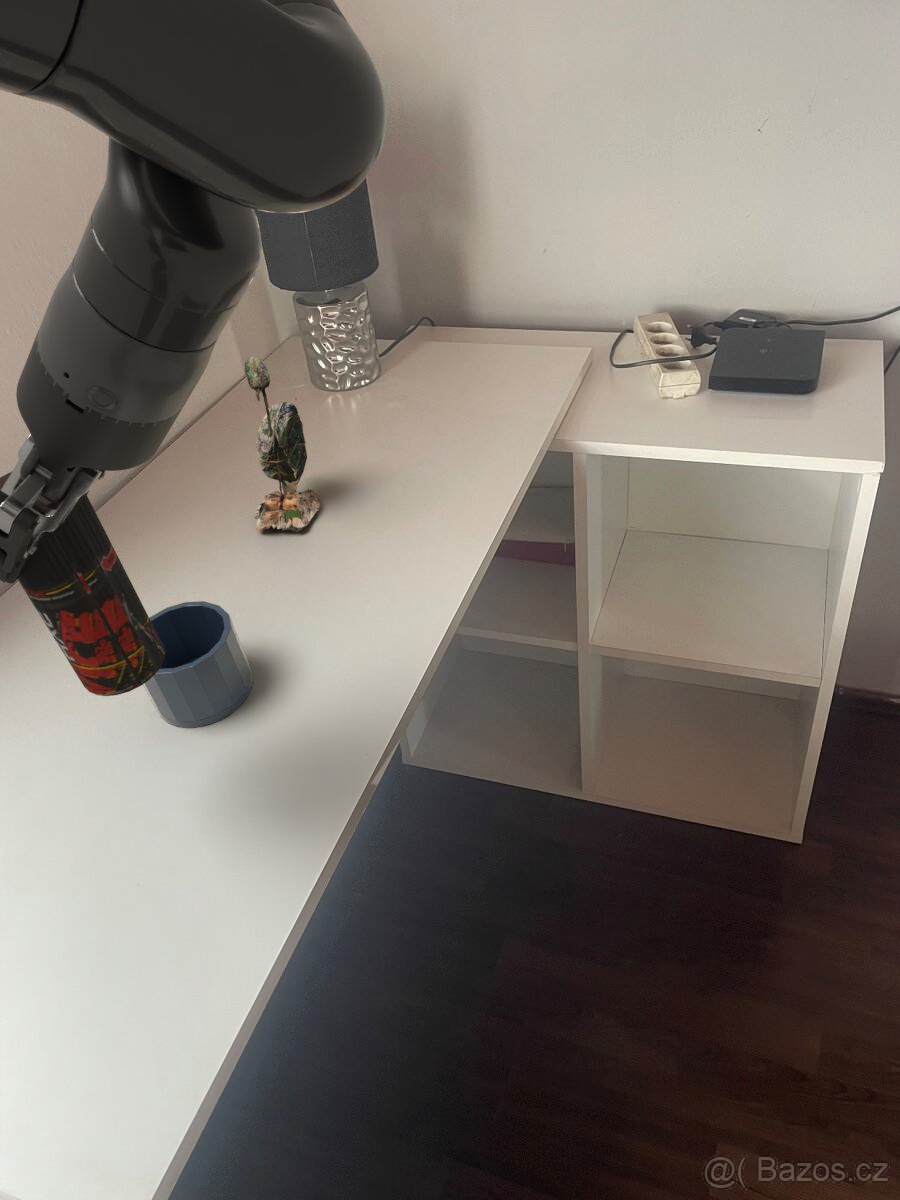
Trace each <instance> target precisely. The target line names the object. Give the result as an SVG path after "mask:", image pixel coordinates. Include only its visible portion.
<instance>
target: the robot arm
mask: <svg viewBox="0 0 900 1200" xmlns="http://www.w3.org/2000/svg"><path fill="white" fill-rule="evenodd" d="M0 91H3V92H6V93H10V94H14V95H17V96H20V97H23V98H27V99H30V100H34V101H38V102H42V103H46V104H50V105H53V106H55V107H58V108H60V109H62V110H63V111H65V112H68V113H70V114H71V115H74V116H75V117H77V118H79V119H80V120H82V121H84V122H85V123H87V124H88V125H90V126H92V127H93V128H95V129H96V130H98V131H99V132H100V133H102V134H104V135H106V136H107V137H108V145H107V164H106V174H105V180H104V184H103V186H102V189H101V192H100V194H99V196H98V197H97V200H96V202H95V204H94V206H93V209H92V212H91V214H90V217H89V219H88V222H87V224H86V226H85V228H84V229H85V230H84V231H83V234H82V237H81V239H80V242H79V244H78V247H77V249H76V252H75V254H74V257H73V258H72V260H71V262H70V264H69V265H68V267H67V268H66V270H65V272H64V273H63V274H62V276H61V278H60V279H59V281H58V282H57V284H56V286H55V289H54V290H53V293H52V295H51V297H50V300H49V303H48V305H47V307H46V310H45V312H44V315H43V318H42V320H41V323H40V325H39V328H38V330H37V333H36V335H35V337H34V341H33V343H32V345H31V348H30V351H29V354H28V356H27V358H26V361H25V364H24V366H23V368H22V371H21V374H20V376H19V379H18V382H17V384H16V393H15V395H16V404H17V408H18V411H19V413H20V416H21V419H22V420H23V422H24V425H25V426H26V428H27V430H28V432H29V435H28V436H27V438H26V439H25V440H24V442H23V444H22V445H21V447H20V448H19V450H18V453H17V454H18V462H17V463H16V465H15V467H14V468H13V470H12V471H11V472H12V473H11V474H10V476H9V478H8V479H7V481H6V482H5V484H4V486H3V487H2V489H1V490H0V581H1V582H2V583H7V584H15V583H16V582H17V581H18V578H19V577H20V576H21V574H22V572H23V570H24V568H25V566H26V564H27V562H28V561H29V559H30V557H31V555H33V554H34V553H35V551H36V550H37V545H38V543H39V542H40V540H41V539H42V537H43V536H44V534H45V533H46V532H52V531H54V530H55V529H57V528H58V527H59V526H60V525H61V524H62V523H63V522H64V521H65V519H66V518H67V516H68V515H69V513H70V512H71V510H72V509H73V507H74V506H75V504H76V503H77V501H78V500H79V498H80V497H81V496H83V495H84V494H85V493H86V495H87V496H88V495H89V492H90V491H91V490H92V489H93V487H94V486H95V485H96V483H97V482H98V481H101V480H102V479H104V478H105V477H106V476H107V475H108V473H109V472H118V471H124V470H125V471H126V470H131V469H133V468H137V467H139V466H141V465H143V464H145V463H146V462H148V461H149V460H150V459H152V458H153V457H154V456H155V454H156V453H157V452H158V450H159V449H160V447H161V445H162V443H163V442H164V440H165V438H166V437H167V435H168V434H169V432H170V430H171V428H173V425H174V424H175V422H176V420H177V419H178V417H179V415H180V413H181V412H182V411H183V409H184V407H185V405H186V404H187V402H188V400H189V398H190V397H191V395H192V394H193V391H194V390H195V389H196V387H197V386H198V383H200V380H201V379H202V376H203V375H204V373H205V371H206V369H207V368H208V365H209V362H210V359H211V357H212V354H213V351H214V348H215V346H216V343H217V342H218V339H219V337H220V335H221V334H222V332H223V330H224V329H225V327H226V325H228V322H229V321H230V319H231V317H232V315H233V313H234V312H235V310H236V309H237V307H238V305H239V303H240V301H241V300H242V299H243V297H244V295H245V294H246V292H247V290H248V288H249V287H250V285H251V283H252V281H253V280H254V278H255V276H256V273H257V271H258V268H259V266H260V261H261V257H262V252H263V241H262V234H261V229H260V225H259V220H258V217H257V213H256V211H261V212H266V213H274V214H281V213H282V214H298V213H306V212H311V211H316V210H319V209H322V208H325V207H327V206H330V205H332V204H334V203H337V202H339V201H341V200H342V199H344V198H346V197H347V196H349V195H350V194H351V193H352V192H354V191H355V190H356V189H357V188H358V187H359V186H360V185H362V183H363V182H364V181H365V180H366V178H367V177H369V175H370V173H371V171H372V170H373V169H374V167H375V166H376V163H377V162H378V159H379V157H380V155H381V153H382V149H383V145H384V142H385V137H386V133H387V132H386V131H387V123H388V122H387V121H388V113H387V102H386V95H385V92H384V91H385V90H384V87H383V84H382V80H381V78H380V75H379V72H378V70H377V68H376V65H375V63H374V61H373V60H372V58H371V56H370V53H369V52H368V50H367V49H366V47H365V46H364V44H363V43H362V40H361V39H360V38H359V36H358V35H357V33H356V32H355V30H354V29H353V27H352V26H351V25H350V23H349V22H348V20H347V19H346V17H345V16H344V14H343V12H342V10H341V9H340V8H339V6H338V5H337V3H336V2H335V0H0ZM40 495H41V496H42V497H44V498H45V499H47V500H48V501H50V502H61V504H60V505H59V507H58V508H57V510H54V509H51V508H50V507H48V506H46V505H45V504H43V503H42V502H40V501H39V500H37V499H38V498H39V496H40Z"/></svg>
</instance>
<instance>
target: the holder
mask: <svg viewBox="0 0 900 1200" xmlns="http://www.w3.org/2000/svg"><path fill="white" fill-rule="evenodd" d="M148 617H149V619H150V621H151V622H152V624H153V626H154V628H155V630H156V632H157V634H158V636H159V638H160V640H161V642H162V644H163V646H164V648H165V658H164V661H163V664H162V666H161V667H160V669H159V670H158V672H157V673H156V674H155V675H154V676H153V677H152V678H151V679H150V680H148V681H147V682H145V683H144V684H143V685H142V687H143V689H144V690H145V692H146V694H147V696H148V698H149V700H150V701H151V704H152V705H153V707H154V708H155V710H156V711H157V713H158V715H159V716H160V717H161V719H162V720H163V721H165V722H166V723H168V724H169V725H172V726H174V727H179V728H184V729H185V728H187V729H190V728H192V729H193V728H200V727H205V726H209V725H211V724H215V723H217V722H219V721H222V720H223V719H225V718H226V717H228V716H230V715H232V713H234V712H235V711H237V709H238V708H240V707H241V706H242V704H244V702H245V701H246V699H247V698H248V697H249V695H250V693H251V690H252V688H253V682H254V676H253V672H252V669H251V667H250V663H249V660H248V657H247V656H246V653H245V650H244V647H243V645H242V643H241V640H240V638H239V636H238V633H237V630H236V628H235V625H234V623H233V621H232V618H231V616H230V614H229V612H227V611H226V610H225V609H224V608H223V607H222V606H221V605H219V604H216V603H212V602H209V601H205V600H199V601H198V600H197V601H184V602H180V603H177V604H174V605H171V606H168V607H165V608H163V609H161V610H160V611H157V613H155V614H153V615H151V616H148Z"/></svg>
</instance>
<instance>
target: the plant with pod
mask: <svg viewBox="0 0 900 1200" xmlns="http://www.w3.org/2000/svg"><path fill="white" fill-rule="evenodd" d="M244 373H245V376H246V379H247V384H248V385H249V387H250V389H252V390H254V391H255V396H256V401H258V402H260V400H261V397H260V394H261V395H262V397H263V402H264V406H265V414H264V416H263V418H262V420H261V423H260V425H259V427H258V429H257V432H256V442H255V449H256V454H257V456H258V462H259V465H260V466H261V471H262V472H263V473H264V475H265V476H266V477H267V478H269V479H270V480H274V481H275V480H276V481H278V483H279V484H278V485H279V490H275V491H272V492H271V493H269V494H266V495H265V496H264V498H263V499H262V501H261V503H259V504H257V507H256V508H255V512H256V513H255V514H256V516H254V519H255V520H256V521H255V523H256V527H255V530H256V531H258V532H261V531H265V530H269V529H270V528H271V527H272V529H273V530H275V529H277V530H280V529H282V531H285V530H287V531H289V530H290V531H292V532H296V533H298V532H300V531H302V530H304V529H305V528H306V527H307V526H308V525H309V524H310V523H311V520H312V519H313V517H314V516H315V514H317V511H320V509H321V502H320V499H318V497H317V495H318V494H317V493H316V491H315V490H314V488H312V489H309V488H308V489H305V490H304V491H299V492H298V491H297V489H298V485H299V483H300V481H301V478H302V476H303V474H304V471H305V468H306V464H307V460H308V452H307V448H306V440H305V439H306V438H305V434H304V424H303V422H302V420H301V416H300V415H299V412H298V408H297V406H296V404H295V403H292V402H287V401H284V402H277V403H274V404H273V405H271V406H270V405H269V403H268V398H267V397H268V395H267V393H266V389H267V388H269V387H270V384H271V378H270V372H269V371H268V368H267V365H266V364H265V362H264V360H263V359H262V358H260V357H258V356H250V357H248V359H246V360H245V361H244ZM293 400H294V401H297V398H296V397H294V398H293ZM269 406H270V407H269Z"/></svg>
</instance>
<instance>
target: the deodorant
mask: <svg viewBox="0 0 900 1200" xmlns="http://www.w3.org/2000/svg"><path fill="white" fill-rule="evenodd" d="M11 473H12V471H10V472H8V473H6V474H4V475H2V476H1V477H0V490H1V489H2V487H3V486H4V484H5V482H6V481H7V479H8V478H9V476H10V474H11ZM37 500H39V501H40V502H42V503H43V504H45V505H46V506H48V507H50V508H51V509H54V510H57V508H58V507H59V505H60V504H61V502H50V501H48V500H47V499H45V498H44V497H42V496H41V495H40V496H39V498H38V499H37ZM17 581H18V582H19V584H20V586H21V587H22V589H23V591H24V592H25V594H26V595H27V597H28V599H29V600H30V602H31V603H32V605H33V607H34V608H35V610H36V611H37V613H38V615H39V617H40V618H41V620H42V621H43V623H44V625H45V627H47V630H48V631H49V633H50V635H51V636H52V637H53V639H54V641H55V642H56V644H57V646H58V647H59V648H60V650H61V652H62V654H63V655H64V657H65V658H66V660H67V661H68V663H69V665H70V666H71V668H72V670H73V671H74V673H75V674H76V677H77V678H78V679H79V681H80V683H81V684H82V686H83V687H84V688H85V689H86V690H87V691H88V693H91V694H93V695H96V696H101V697H112V696H119V695H122V694H125V693H129V692H131V691H133V690H135V689H138V688H140V687H141V686H143V684H144V683H145V682H147V681H148V680H150V679H151V678H152V677H153V676H154V675H155V674H156V673H157V672H158V670H159V669H160V667H161V666H162V664H163V661H164V658H165V648H164V646H163V644H162V642H161V640H160V638H159V636H158V634H157V632H156V630H155V628H154V626H153V624H152V622H151V621H150V619H149V617H150V616H149V615H148V612H147V610H146V608H145V606H144V605H143V603H142V600H141V599H140V597H139V595H138V593H137V591H136V589H135V587H134V585H133V583H132V581H131V579H130V578H129V575H128V573H127V572H126V569H125V567H124V565H123V563H122V561H121V560H120V558H119V556H118V554H117V551H116V550H115V547H114V546H113V543H112V542H111V539H110V538H109V536H108V533H107V532H106V530H105V528H104V526H103V524H102V522H101V520H100V518H99V516H98V514H97V513H96V510H95V509H94V507H93V505H92V503H91V500H90V499H89V497H88V494H87V495H86V493H85V494H84V495H83V496H81V497H80V498H79V500H78V501H77V503H76V504H75V506H74V507H73V509H72V510H71V512H70V513H69V515H68V516H67V518H66V519H65V521H64V522H63V523H62V524H61V525H60V526H59V527H58V528H57V529H55V530H54V531H52V532H46V533H45V534H44V536H43V537H42V539H41V540H40V542H39V543H38V545H37V550H36V551H35V553H34V554H33V555H31V557H30V559H29V561H28V562H27V564H26V566H25V568H24V570H23V572H22V574H21V576H20V577H19V578H18V579H17Z"/></svg>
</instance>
